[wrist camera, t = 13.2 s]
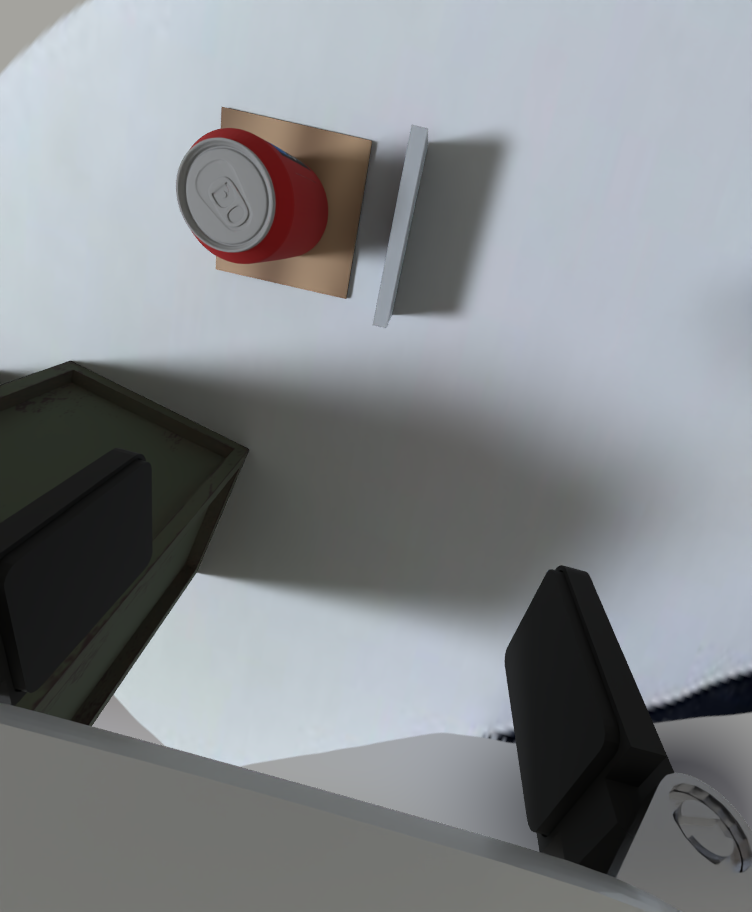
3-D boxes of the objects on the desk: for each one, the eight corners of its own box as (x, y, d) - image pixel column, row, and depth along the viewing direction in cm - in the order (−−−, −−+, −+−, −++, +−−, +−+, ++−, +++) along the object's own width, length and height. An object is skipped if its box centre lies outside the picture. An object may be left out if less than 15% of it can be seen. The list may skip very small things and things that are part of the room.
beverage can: (298, 136, 33) (233, 87, 22) (347, 226, 35) (311, 222, 24) (227, 192, 35) (137, 172, 24) (278, 273, 37) (216, 289, 26)
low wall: (427, 146, 32) (427, 128, 27) (391, 314, 38) (386, 328, 32) (414, 142, 32) (411, 124, 27) (380, 312, 38) (372, 324, 32)
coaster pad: (371, 141, 33) (371, 140, 32) (346, 298, 38) (345, 298, 37) (223, 108, 33) (221, 106, 32) (217, 268, 38) (215, 269, 37)
